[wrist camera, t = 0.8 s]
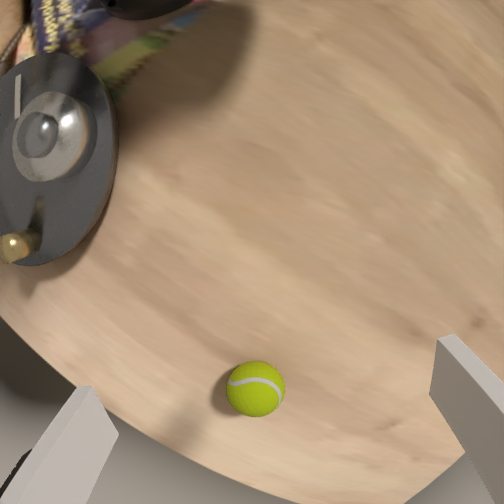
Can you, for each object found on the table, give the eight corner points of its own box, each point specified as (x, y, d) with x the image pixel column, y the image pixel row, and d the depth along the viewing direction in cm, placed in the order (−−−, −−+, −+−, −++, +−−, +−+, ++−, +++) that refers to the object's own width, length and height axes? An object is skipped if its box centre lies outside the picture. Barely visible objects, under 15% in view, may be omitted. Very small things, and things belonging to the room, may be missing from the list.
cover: (32, 114, 27) (1, 108, 21) (95, 87, 26) (67, 74, 21) (38, 189, 29) (6, 192, 23) (102, 169, 28) (73, 168, 23)
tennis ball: (267, 341, 36) (268, 373, 29) (292, 380, 37) (297, 415, 30) (218, 363, 37) (211, 397, 30) (246, 400, 38) (243, 435, 31)
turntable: (-28, 103, 28) (-59, 98, 21) (113, 26, 26) (86, 1, 19) (-11, 272, 33) (-42, 286, 26) (137, 245, 32) (108, 262, 25)
